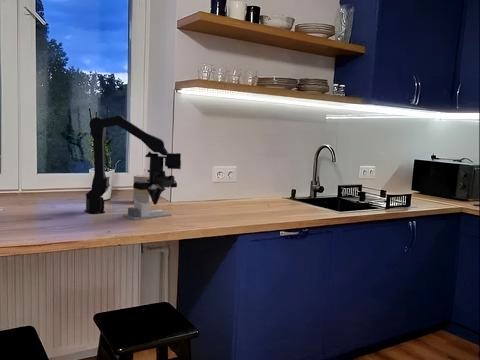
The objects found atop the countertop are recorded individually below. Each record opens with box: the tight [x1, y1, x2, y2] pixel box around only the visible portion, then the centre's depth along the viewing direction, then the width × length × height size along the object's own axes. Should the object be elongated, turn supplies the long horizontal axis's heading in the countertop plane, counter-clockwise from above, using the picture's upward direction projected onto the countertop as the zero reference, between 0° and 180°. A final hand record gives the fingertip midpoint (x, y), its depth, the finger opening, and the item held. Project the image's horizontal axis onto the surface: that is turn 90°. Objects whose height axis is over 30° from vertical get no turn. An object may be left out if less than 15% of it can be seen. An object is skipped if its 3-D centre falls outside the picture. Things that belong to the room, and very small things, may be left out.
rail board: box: [122, 207, 172, 221], centre depth 185 cm, size 18×9×4 cm, turn 135°
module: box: [133, 200, 151, 217], centre depth 183 cm, size 4×6×6 cm, turn 45°
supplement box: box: [132, 174, 153, 204], centre depth 212 cm, size 8×5×13 cm, turn 84°
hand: (154, 204), depth 187 cm, fingers closed
